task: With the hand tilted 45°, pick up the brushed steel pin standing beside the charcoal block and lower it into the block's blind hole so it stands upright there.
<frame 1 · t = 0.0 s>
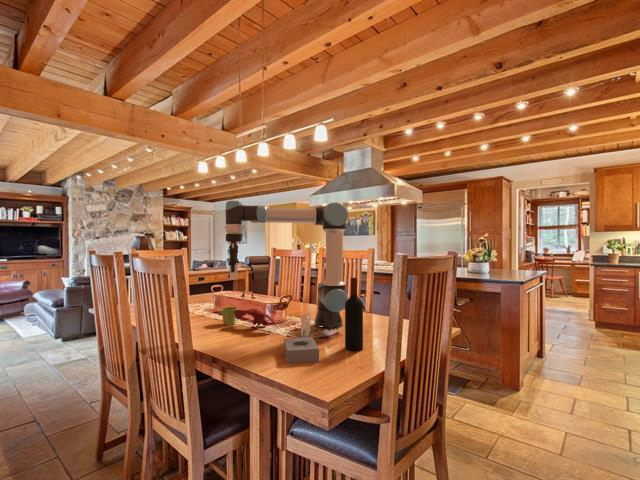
hand: (233, 277, 166), 28 cm above the table, tool pointing down, fingers open, 13 cm apart
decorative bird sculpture: (257, 328, 181), on the table
plant pot: (229, 324, 190), on the table
steel pin: (305, 342, 155), on the table
charcoal hole block: (300, 356, 138), on the table
wine bottle: (354, 349, 147), on the table
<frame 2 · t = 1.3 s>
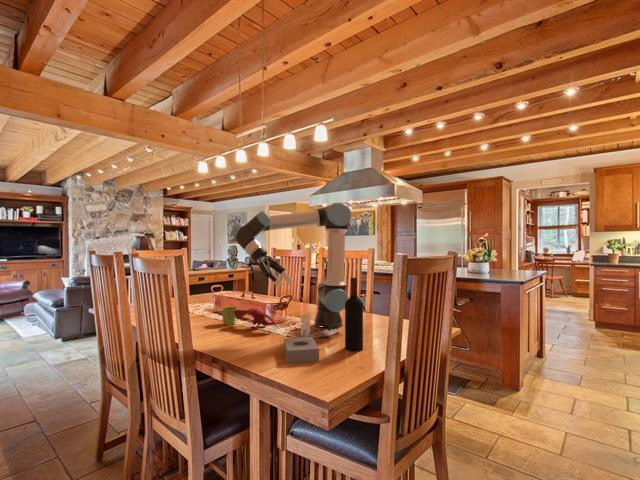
hand: (286, 284, 161), 26 cm above the table, tool tilted 45°, fingers open, 13 cm apart
nothing on the table moved.
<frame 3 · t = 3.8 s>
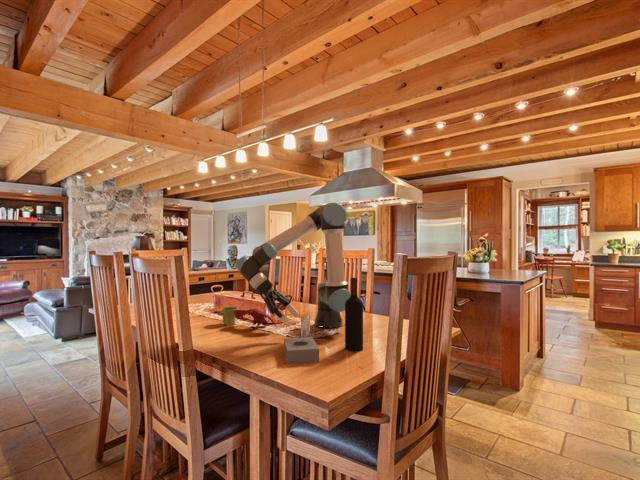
hand: (292, 318, 156), 11 cm above the table, tool tilted 45°, fingers open, 13 cm apart
nothing on the table moved.
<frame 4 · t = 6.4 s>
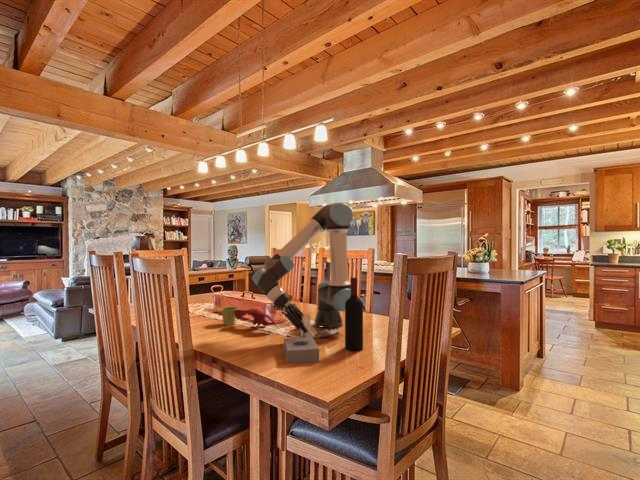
hand: (313, 335, 154), 3 cm above the table, tool tilted 45°, fingers closed on steel pin, 4 cm apart
steel pin: (305, 342, 155), on the table, touching gripper
everything else where it was.
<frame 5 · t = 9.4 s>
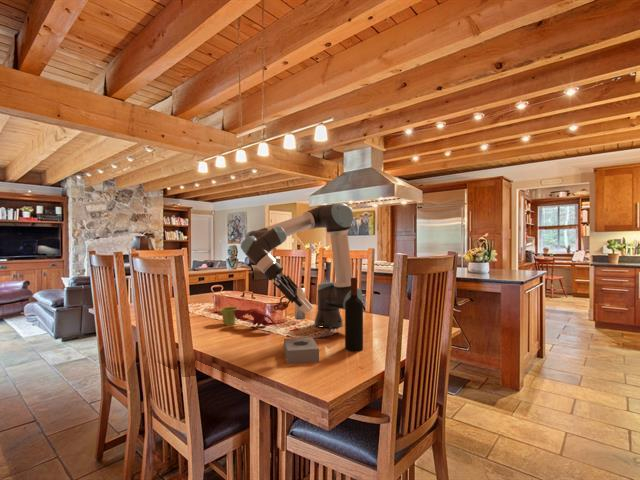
hand: (309, 310, 137), 18 cm above the table, tool tilted 45°, fingers closed on steel pin, 4 cm apart
steel pin: (299, 318, 138), point 15 cm above the table, touching gripper
everything else where it was.
when the fingers open (6 cm above the table, at t = 12.4 s): steel pin drops 2 cm, resting on charcoal hole block.
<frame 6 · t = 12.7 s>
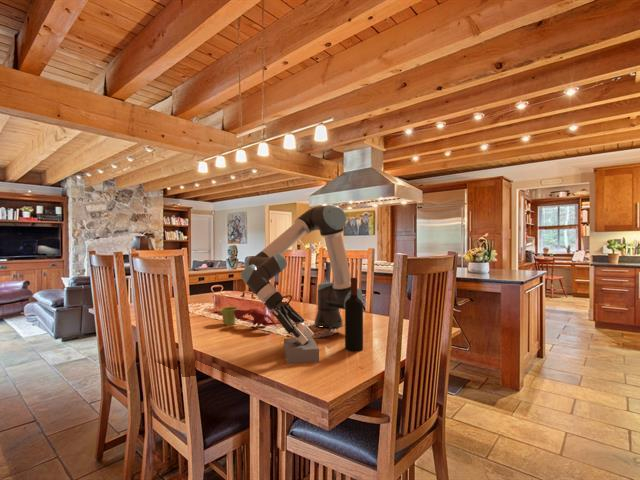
hand: (308, 339, 137), 7 cm above the table, tool tilted 45°, fingers open, 8 cm apart
steel pin: (300, 353, 138), point 1 cm above the table, touching charcoal hole block
everything else where it was.
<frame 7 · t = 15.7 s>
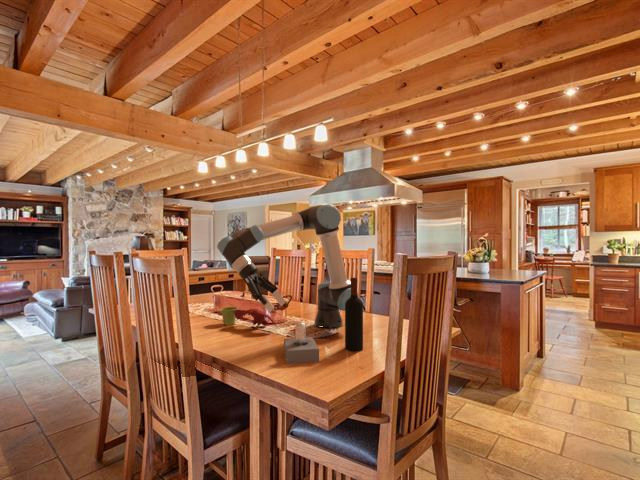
hand: (278, 306, 142), 19 cm above the table, tool tilted 45°, fingers open, 13 cm apart
nothing on the table moved.
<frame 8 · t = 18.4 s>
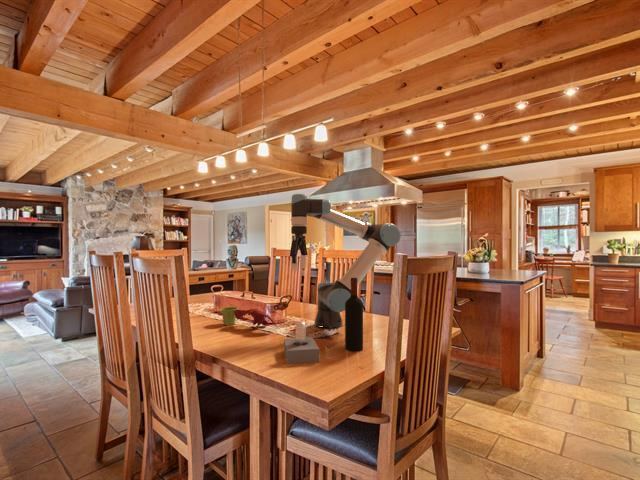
hand: (299, 269, 170), 32 cm above the table, tool pointing down, fingers open, 13 cm apart
nothing on the table moved.
at the end: steel pin 0.1 cm off-centre on the charcoal hole block, point 1.1 cm above the charcoal hole block's base; steel pin tilted 2°; the gripper is holding nothing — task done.
